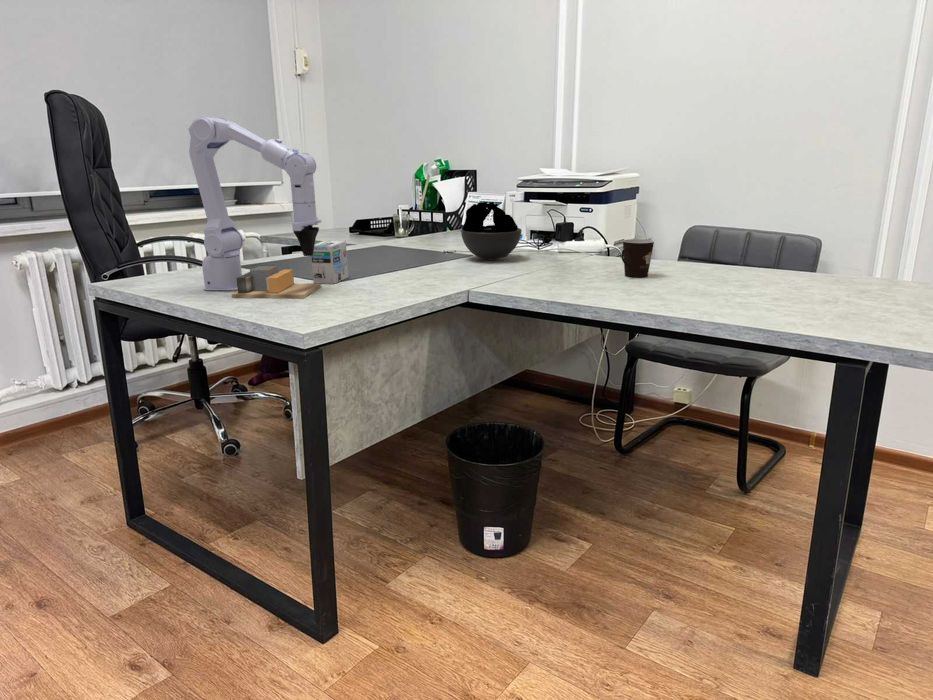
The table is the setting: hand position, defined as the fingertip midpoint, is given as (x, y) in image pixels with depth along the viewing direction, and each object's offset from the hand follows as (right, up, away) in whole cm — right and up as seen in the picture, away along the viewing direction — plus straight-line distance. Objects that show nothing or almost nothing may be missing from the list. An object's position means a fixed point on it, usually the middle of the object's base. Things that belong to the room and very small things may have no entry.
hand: (308, 255), depth 172 cm
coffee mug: (+89, -4, +17) cm, 90 cm away
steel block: (-12, -9, +1) cm, 14 cm away
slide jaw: (-8, -8, +1) cm, 11 cm away
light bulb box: (+2, -5, +17) cm, 18 cm away
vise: (-9, -9, +2) cm, 13 cm away
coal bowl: (+50, +5, +48) cm, 69 cm away
